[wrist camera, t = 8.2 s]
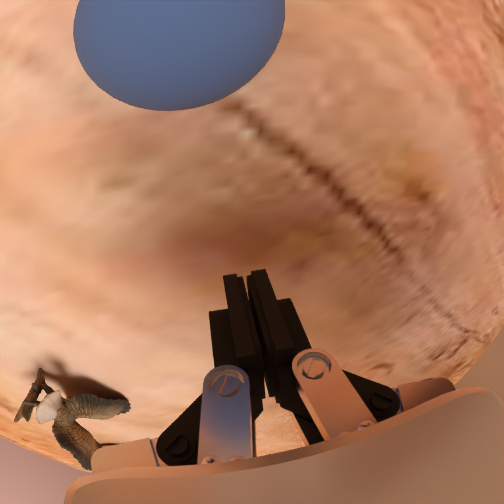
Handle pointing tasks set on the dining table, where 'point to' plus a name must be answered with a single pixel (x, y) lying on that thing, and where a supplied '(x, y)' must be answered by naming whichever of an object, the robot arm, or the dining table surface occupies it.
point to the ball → (175, 48)
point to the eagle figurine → (70, 416)
